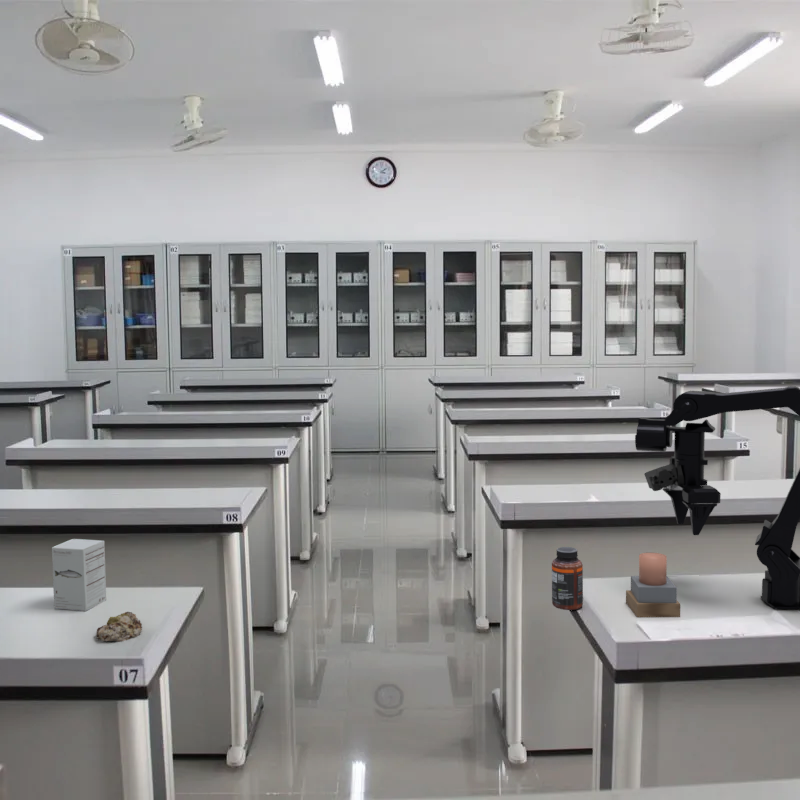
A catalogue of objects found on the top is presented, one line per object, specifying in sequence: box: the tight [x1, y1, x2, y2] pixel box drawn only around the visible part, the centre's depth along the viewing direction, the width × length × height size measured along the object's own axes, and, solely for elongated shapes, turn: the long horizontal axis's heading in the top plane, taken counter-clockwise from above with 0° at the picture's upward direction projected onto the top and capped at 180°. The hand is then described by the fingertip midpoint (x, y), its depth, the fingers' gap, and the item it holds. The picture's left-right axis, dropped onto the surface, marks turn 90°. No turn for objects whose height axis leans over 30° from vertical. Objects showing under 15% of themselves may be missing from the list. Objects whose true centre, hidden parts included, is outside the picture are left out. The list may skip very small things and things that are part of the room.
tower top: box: [630, 575, 678, 603], centre depth 153 cm, size 7×7×3 cm
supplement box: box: [51, 538, 107, 612], centre depth 161 cm, size 7×7×13 cm
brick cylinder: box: [638, 552, 668, 586], centre depth 153 cm, size 5×5×5 cm
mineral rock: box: [95, 611, 143, 643], centre depth 146 cm, size 11×4×8 cm
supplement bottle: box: [551, 546, 584, 611], centre depth 156 cm, size 6×6×11 cm
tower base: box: [625, 589, 681, 618], centre depth 154 cm, size 8×8×3 cm
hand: (687, 529), depth 163 cm, fingers open, 9 cm apart
